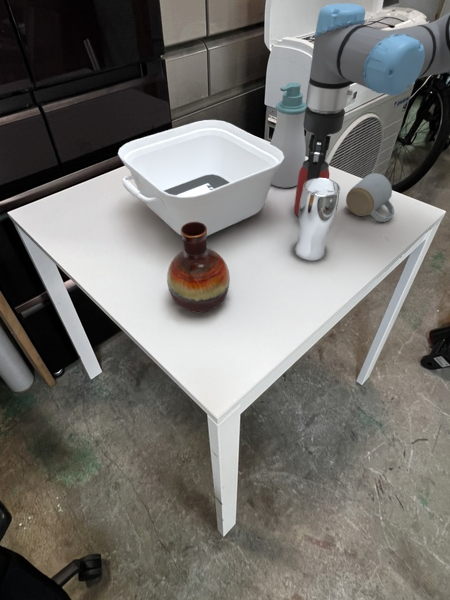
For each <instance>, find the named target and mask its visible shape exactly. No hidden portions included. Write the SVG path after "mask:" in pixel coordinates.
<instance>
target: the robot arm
mask: <svg viewBox="0 0 450 600" xmlns="http://www.w3.org/2000/svg"><path fill="white" fill-rule="evenodd" d="M365 18H366V9H365V7H364V6H362V5H360V4H358V3H357V4H356V3H343V2H342V3H341V2H340V3H339V2H338V3H330V4H327V5H325V6H323V7H322V8H321V9H320V10H319V13H318V17H317V23H316V27H315V31H314V34H313V35H314V36H313V39H314V40H313V46H312V47H313V49H312V56H311V63H310V64H311V65H310V72H309V80H308V83H307V84H308V85H307V91H306V100H305V103H306V105H307V107H306V109H305V116H304V124H303V126H304V130H305V131H306V132H308V133H311V134H310V139H309V143H308V149H309V151H308V156H307V160H308V162H309V167H308V173H307V180H309V179H312V178H319V176H320V171H321V165H322V164H324V162H325V161H326V157H327V152H328V151H329V147H330V142H331V138H332V136H331V135H335V134H337V133H339V132H340V131H341V130H342V128H343V124H344V119H345V114H346V110H345V108H346V107H347V103H348V98H349V96H352V95H353V89H351V84H352V83H355V84H357V85H359V86H361V87H364V88H367V89H369V90H371V91H372V92H375V93H377V94H383V95H387V96H393V97H394V96H399V95H401V94H403V93H404V92H405V91H406V90H407V89H408V88H410V87H412V86H413V85H414V83H415V82H416V81H417V79H421V78H425V77H430V76H435V75H443V74H445V73H448V72H450V12H448V13H446V14H445V15H443V16H442V17H440V18H438V19H436V20H434V21H432V22H428V23H423V24H417V25H413V26H406V27H401V28H396V29H391V30H385V29H378V28H375V27H369V26H367V25H365V23H366V20H365ZM307 180H306V181H307ZM301 194H302V192H301Z"/></svg>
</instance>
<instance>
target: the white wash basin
mask: <svg viewBox="0 0 450 600" xmlns="http://www.w3.org/2000/svg"><path fill="white" fill-rule="evenodd" d="M117 155H118V157H119V158H120V160H121V162H122V164H123V165H124V167H125V168H127V170H129V172H130V174H131V175H125V176H124V177H122V180H121V182H122V185H123V187H124V188H125V190H126V191H127V192H128V193H129V194H130V195H131V196H132V197H134V198H135V199H137V200H140V201H142V202H143V203H144V204H145V205H146V206H147V207H148V208H149V209H150V210H151V211H152V212H154V214H156V215H157V217H159V219H161V220H162V221H163V222H165V224H167V225H168V226H169V227H170V228H171V229H172V230H173V231H174V232H176V234H178V235H179V236H181V237H182V235H181V228H182V226H183V225H185V224H186V223H189V222H200V223H203V224H204V225H205V226H206V227H207V237H208V236H211V235H213V234H215V233H218V232H220V231H222V230H224V229H227V228H229V227H231V226H233V225H236V224H238V223H241V222H242V221H245V220H246V219H250V217H253V216H254V215H257V213H259V212H260V211H261V210H262V209H263V207H264V206H265V203H266V200H267V197H268V194H269V191H270V188H271V186H272V184H271V183H272V180H273V177H274V174H275V172H277V171H278V169H279V167H280V165H281V163H282V162H283V160H284V155H283V152H282V151H280V150H279V149H278V148H276V147H275V146H273V145H271V144H270V143H268V142H267V141H265V140H263V139H261V138H259V137H257V136H255V135H253V134H251V133H250V132H248V131H246V130H244V129H241V128H240V127H238V126H236V125H234V124H232V123H230V122H227V121H224V120H217V119H203V120H198V121H195V122H191V123H188V124H184V125H180V126H177V127H174V128H170V129H168V130H167V129H166V130H164V131H161V132H157V133H154V134H151V135H147V136H143V137H141V138H137V139H134V140H131V141H129V142H126V143H125V144H123V145H122V146H121V147H119V149H118V152H117ZM129 180H133V182H134V183H135V185H136V187H135V186H134V185H133V184H132V183H131V182H130V181H129Z"/></svg>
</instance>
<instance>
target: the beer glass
mask: <svg viewBox="0 0 450 600" xmlns="http://www.w3.org/2000/svg"><path fill="white" fill-rule="evenodd" d="M340 191H341V186H340V184H339V183H338V182H337V181H335V180H333V179H330V178H329V179H327V178H312V179H309V180H307V181H306V182H305V183H304V185H303V190H302V194H301V199H300V204H299V216H298V232H299V233H298V239H297V242H296V244H295V248H294V252H295V254H296V256H297V257H299V258H300V259H302V260H306V261H317V260H320V259H322V257H324V255H325V252H326V251H325V249H326V247H325V246H326V245H325V244H326V239H327V236H328V233H329V232H330V229H331V226H332V224H333V223H334V220H335V217H336V214H337V210H338V206H339V200H340Z"/></svg>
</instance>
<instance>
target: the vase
mask: <svg viewBox="0 0 450 600" xmlns="http://www.w3.org/2000/svg"><path fill="white" fill-rule="evenodd" d="M181 235H182V236H181ZM181 235H180V236H181V240H182V244H183V250H182V251H180V252H178V253H177V254H176V255H175V257H173V259H172V260H171V261H170V263H169V266H168V269H167V271H166V272H167V273H166V283H167V288H168V291H169V293H170V295H171V297H172V299H173V300H174V302H175V303H176V304H177V305H178V306H179V307H180V308H182V309H184V310H186V311H188V312H192V313H206V312H209V311H212V310H214V309H216V308H217V307H218V306H219V305H220V304H222V302H223V301H224V300H225V298H226V297H227V294H228V291H229V288H230V280H231V278H230V270H229V268H228V265H227V263H226V261H225V260H224V258H223V257H222V256H221V255H220V254H219V253H218V252H216V251H215V250H213V249H212V248H209V247H208V236H207V227H206V226H205V225H204V224H203V223H200V222H189V223H186V224H185V225H183V226H182V228H181Z"/></svg>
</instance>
